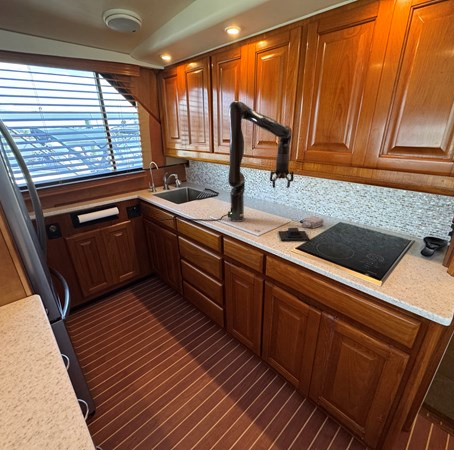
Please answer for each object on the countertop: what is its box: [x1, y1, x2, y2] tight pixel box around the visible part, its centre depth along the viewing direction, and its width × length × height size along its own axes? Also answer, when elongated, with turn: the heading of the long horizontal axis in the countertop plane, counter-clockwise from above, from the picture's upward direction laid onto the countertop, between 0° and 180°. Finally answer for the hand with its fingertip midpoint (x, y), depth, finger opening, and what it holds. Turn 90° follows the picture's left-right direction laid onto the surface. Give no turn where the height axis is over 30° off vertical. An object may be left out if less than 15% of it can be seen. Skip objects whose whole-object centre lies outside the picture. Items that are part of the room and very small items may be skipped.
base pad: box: [278, 229, 311, 242], centre depth 141 cm, size 16×12×2 cm
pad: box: [287, 227, 300, 236], centre depth 140 cm, size 6×6×4 cm
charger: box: [301, 215, 324, 229], centre depth 155 cm, size 5×9×15 cm
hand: (280, 187), depth 149 cm, fingers open, 8 cm apart
